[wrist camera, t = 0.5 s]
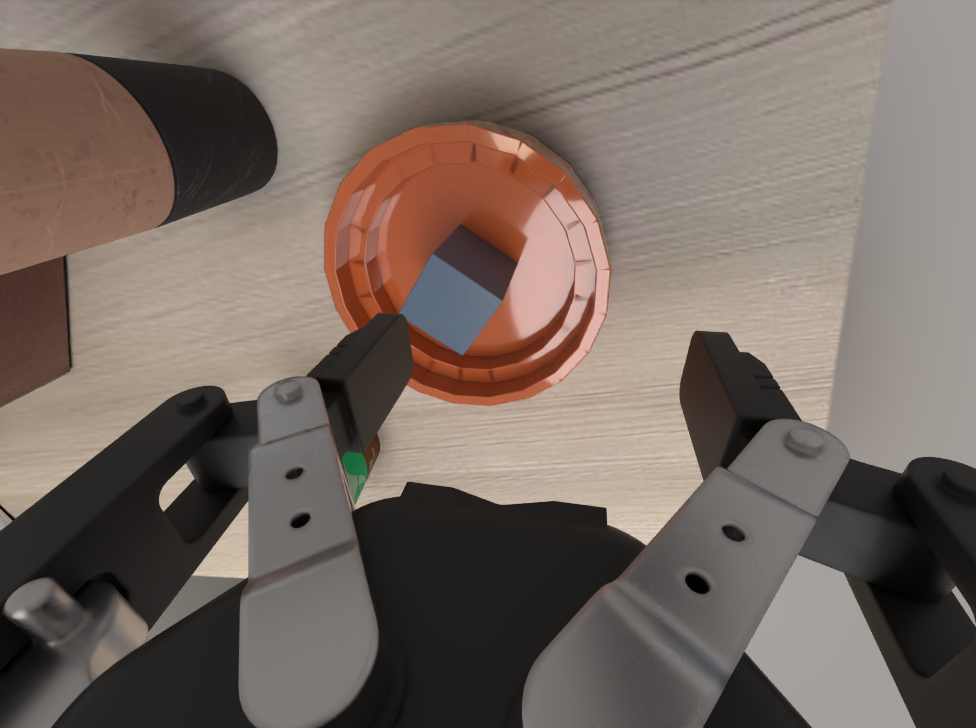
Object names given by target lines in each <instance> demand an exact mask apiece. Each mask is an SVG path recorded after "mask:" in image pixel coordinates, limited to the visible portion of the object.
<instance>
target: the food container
mask: <svg viewBox="0 0 976 728" xmlns="http://www.w3.org/2000/svg"><path fill="white" fill-rule="evenodd" d="M379 451H380V443H379V438H378V436H377V433H376V435H375V437H374V438H373V440H372V441H371V443H370V445H369V446H368V448H367V450H366V451H365V453H364V454H362V453H353V452H346V453H345V454H344V456H343V457H342V460H343V463H344V466H345V470H346V474H347V478H348V481H349V485H350V489H351V493H352V496H353V500H354V504H356V502H357V500H358V498H359V495H360V493H361V491H362V489H363V487H364V485H365V482H366V480H367V478H368V476H369V474H370V472H371V470H372V467H373V465H374V463H375V461H376V459H377V457H378V454H379Z"/></svg>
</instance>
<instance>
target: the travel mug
mask: <svg viewBox="0 0 976 728" xmlns="http://www.w3.org/2000/svg"><path fill="white" fill-rule="evenodd" d="M276 162H277V145H276V139H275V135H274V131H273V128H272V125H271V123H270V121H269V118H268V116H267V114H266V112H265V111H264V109H263V107H262V106H261V104H260V103H259V101H258V100H257V99H256V98H255V96H254V95H253V94H252V93H251V92H250V91H249V90H248V89H247V88H246V87H245V86H244V85H243V84H241V83H240V82H239V81H238V80H236V79H234V78H233V77H231V76H229V75H227V74H225V73H223V72H220V71H217V70H213V69H207V68H201V67H193V66H185V65H175V64H166V63H157V62H148V61H138V60H129V59H120V58H111V57H101V56H92V55H83V54H74V53H61V52H50V51H34V50H18V49H1V48H0V275H2V274H6V273H9V272H12V271H16V270H19V269H22V268H26V267H29V266H32V265H35V264H39V263H42V262H45V261H49V260H52V259H55V258H58V257H62V256H65V255H68V254H72V253H75V252H78V251H82V250H85V249H88V248H91V247H95V246H98V245H101V244H105V243H108V242H111V241H114V240H118V239H121V238H124V237H128V236H131V235H134V234H138V233H141V232H144V231H147V230H151V229H153V228H156V227H160V226H162V225H165V224H168V223H171V222H173V221H176V220H179V219H182V218H184V217H187V216H190V215H193V214H195V213H198V212H201V211H204V210H207V209H209V208H212V207H215V206H218V205H220V204H223V203H226V202H229V201H231V200H234V199H237V198H240V197H242V196H245V195H248V194H250V193H253V192H255V191H257V190H259V189H261V188H262V187H263V186H265V185H266V184H267V182H268V181H269V180H270V179H271V177H272V175H273V173H274V170H275V167H276Z"/></svg>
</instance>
